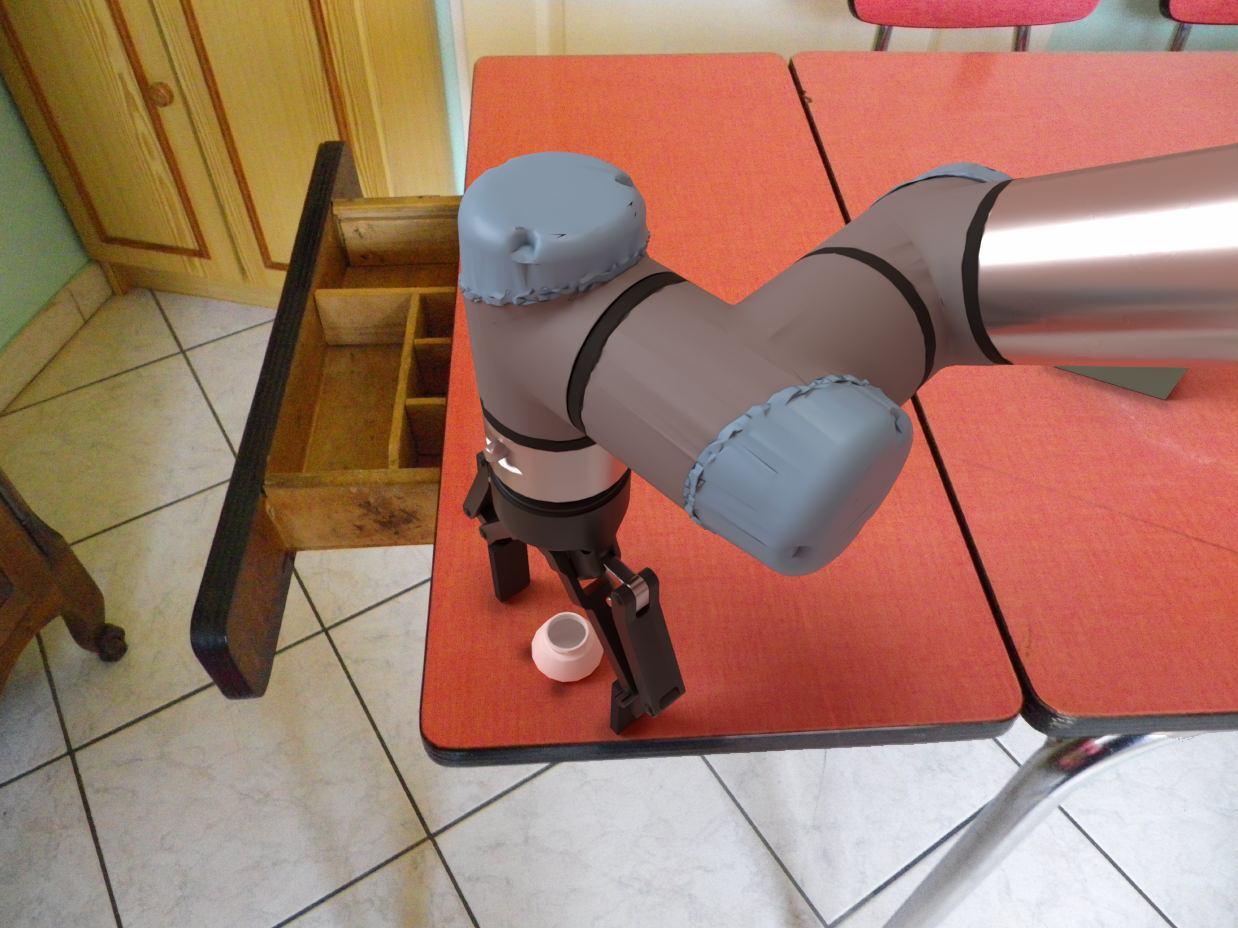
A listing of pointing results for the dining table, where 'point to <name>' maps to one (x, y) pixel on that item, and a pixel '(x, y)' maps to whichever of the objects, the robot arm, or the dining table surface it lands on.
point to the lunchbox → (1135, 377)
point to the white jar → (566, 647)
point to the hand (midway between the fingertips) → (567, 650)
